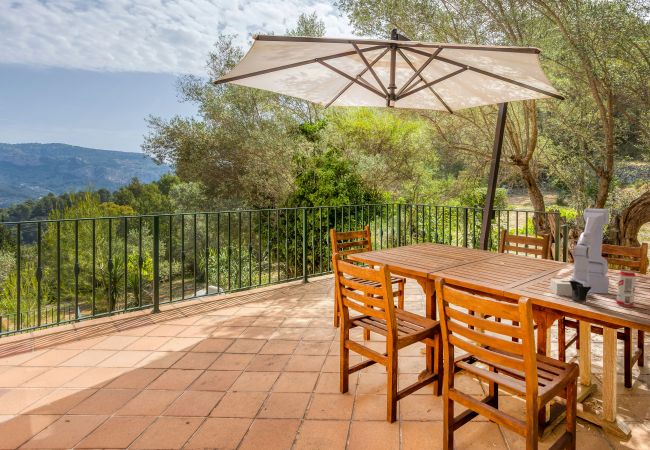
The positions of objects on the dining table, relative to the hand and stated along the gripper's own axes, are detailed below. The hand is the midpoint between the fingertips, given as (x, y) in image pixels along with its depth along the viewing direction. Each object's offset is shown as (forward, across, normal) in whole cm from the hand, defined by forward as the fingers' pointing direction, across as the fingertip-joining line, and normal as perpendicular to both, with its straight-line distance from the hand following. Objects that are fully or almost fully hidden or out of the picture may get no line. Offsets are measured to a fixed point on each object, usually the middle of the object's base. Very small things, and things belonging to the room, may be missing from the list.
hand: (578, 297), depth 185 cm
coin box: (+2, -14, 0) cm, 14 cm away
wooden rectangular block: (+2, 0, 0) cm, 2 cm away
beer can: (+2, +2, +18) cm, 18 cm away
